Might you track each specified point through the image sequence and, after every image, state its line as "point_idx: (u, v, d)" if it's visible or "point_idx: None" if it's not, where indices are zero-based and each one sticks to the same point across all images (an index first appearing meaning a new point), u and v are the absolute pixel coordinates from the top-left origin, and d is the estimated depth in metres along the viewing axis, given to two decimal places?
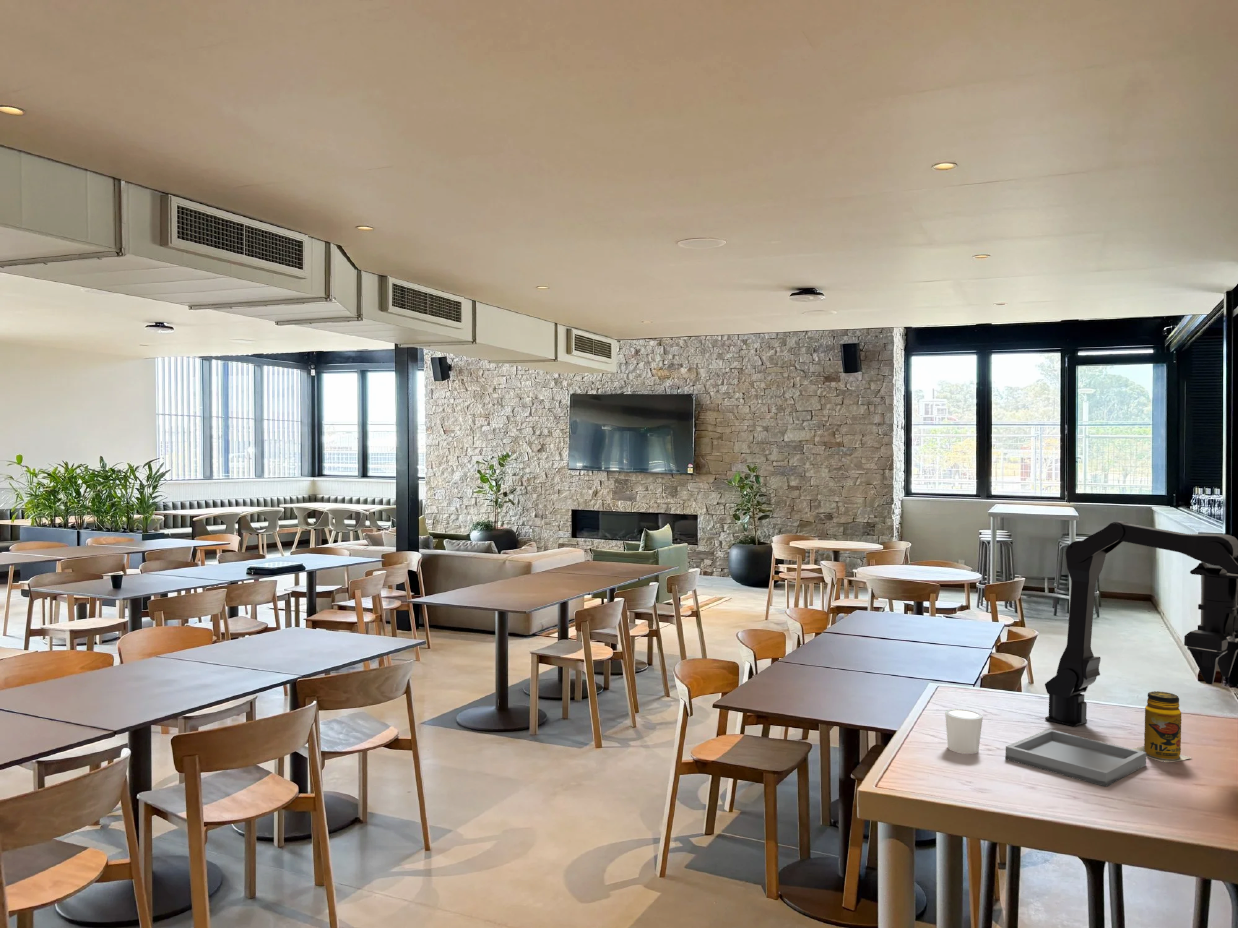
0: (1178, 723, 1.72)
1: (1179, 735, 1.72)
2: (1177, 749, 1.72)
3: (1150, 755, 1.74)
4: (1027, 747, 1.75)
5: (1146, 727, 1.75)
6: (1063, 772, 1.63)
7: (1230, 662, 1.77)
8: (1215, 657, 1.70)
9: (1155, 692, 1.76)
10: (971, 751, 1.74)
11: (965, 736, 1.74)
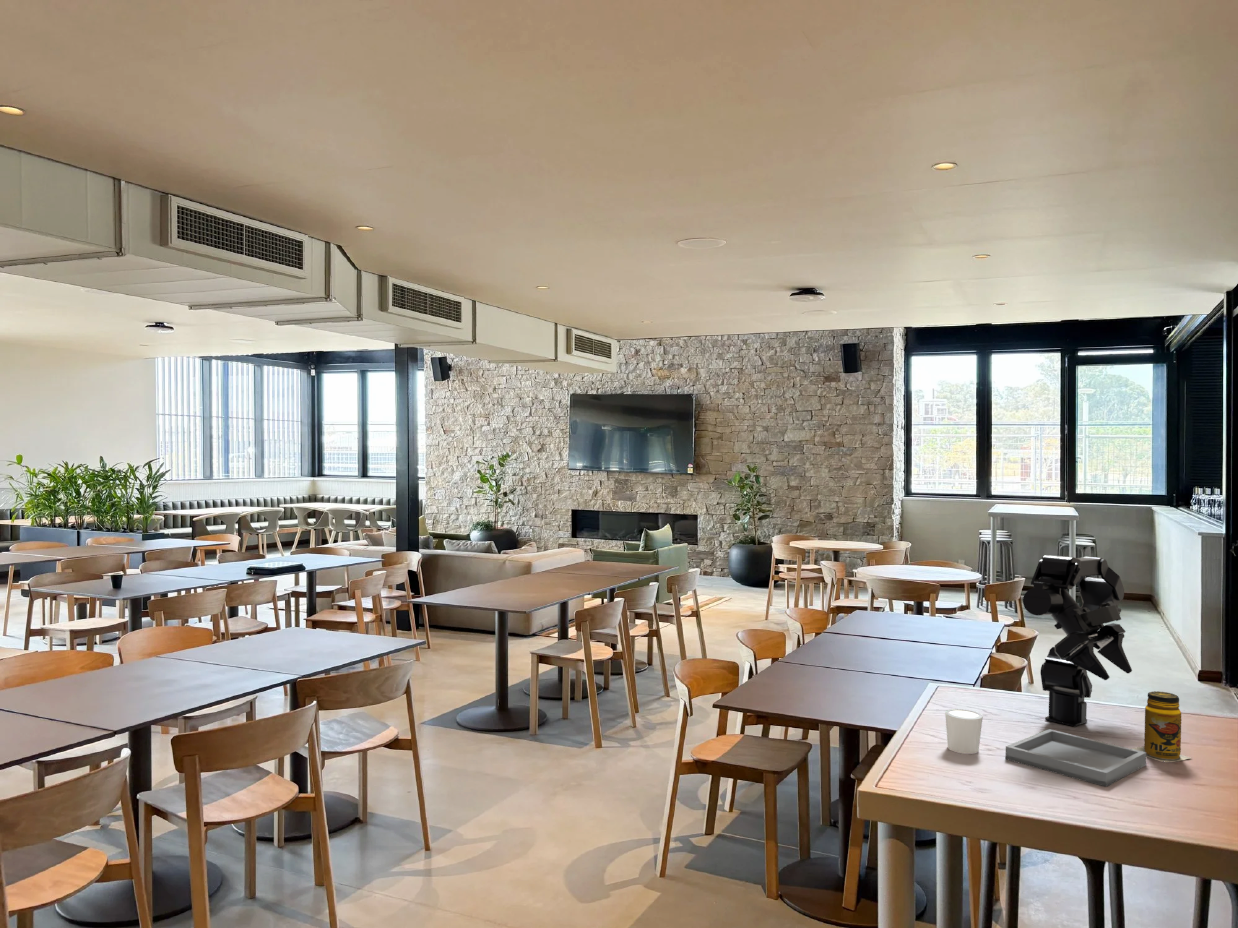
0: (1178, 723, 1.72)
1: (1179, 735, 1.72)
2: (1177, 749, 1.72)
3: (1150, 755, 1.74)
4: (1027, 747, 1.75)
5: (1146, 727, 1.75)
6: (1063, 772, 1.63)
7: (1122, 657, 1.86)
8: (1088, 652, 1.81)
9: (1155, 692, 1.76)
10: (971, 751, 1.74)
11: (965, 736, 1.74)
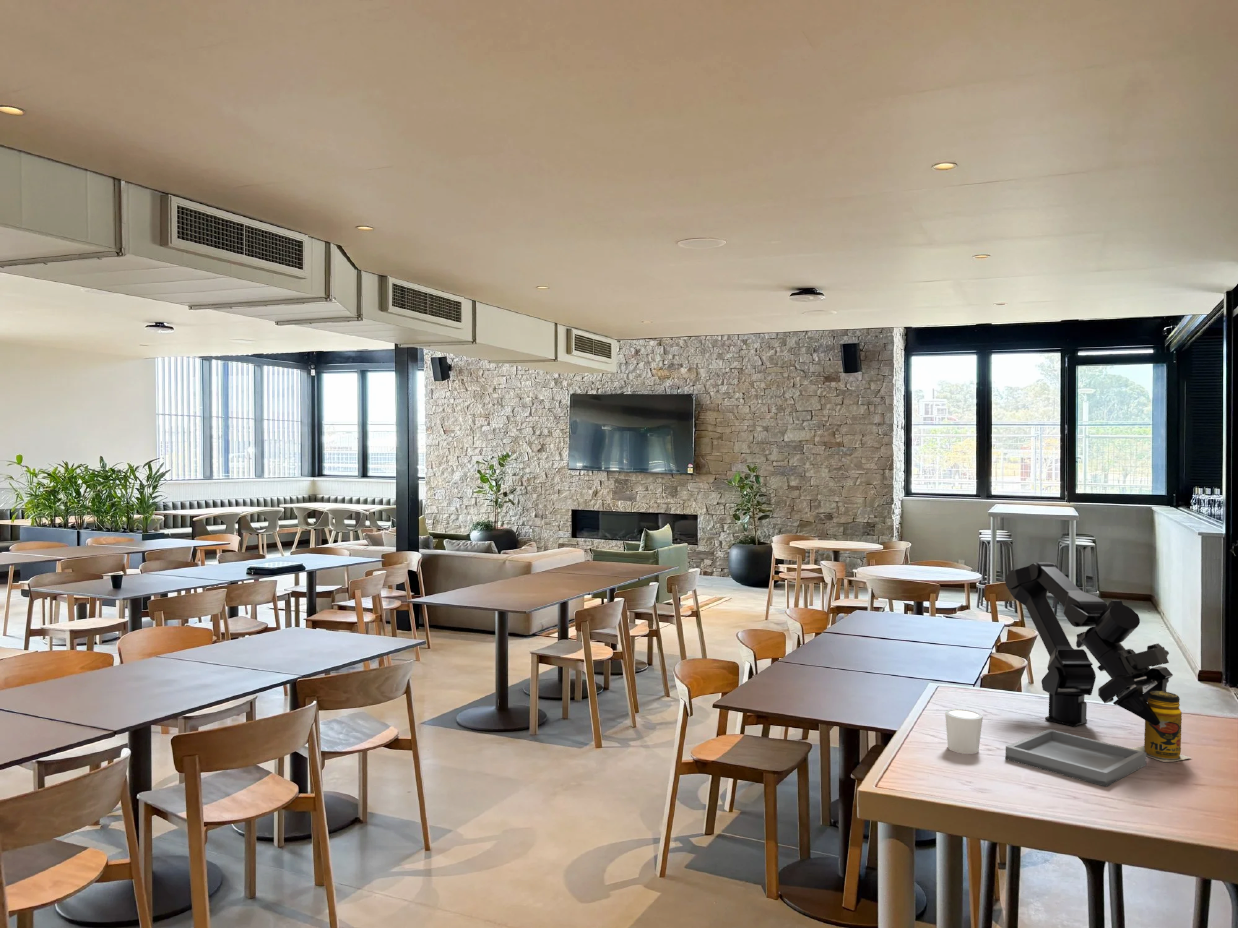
0: (1179, 723, 1.72)
1: (1179, 735, 1.72)
2: (1177, 749, 1.72)
3: (1150, 755, 1.74)
4: (1027, 747, 1.75)
5: (1146, 726, 1.75)
6: (1063, 772, 1.63)
7: None
8: (1137, 696, 1.74)
9: (1155, 692, 1.76)
10: (971, 751, 1.74)
11: (965, 736, 1.74)
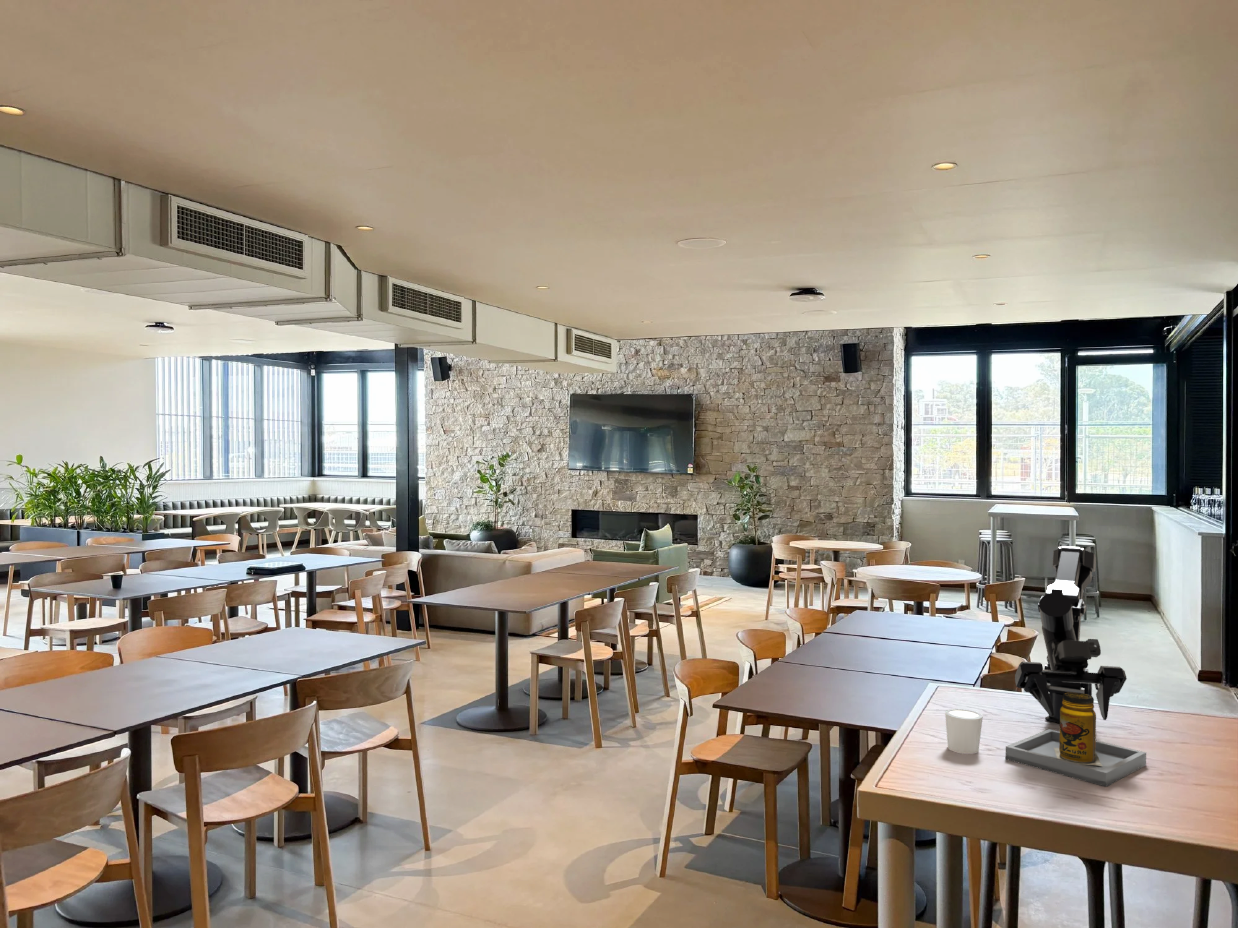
0: (1082, 725, 1.67)
1: (1083, 738, 1.67)
2: (1079, 752, 1.67)
3: (1059, 754, 1.71)
4: (1027, 747, 1.75)
5: None
6: (1063, 772, 1.63)
7: (1102, 702, 1.69)
8: (1037, 684, 1.73)
9: (1077, 693, 1.71)
10: (971, 751, 1.74)
11: (965, 736, 1.74)
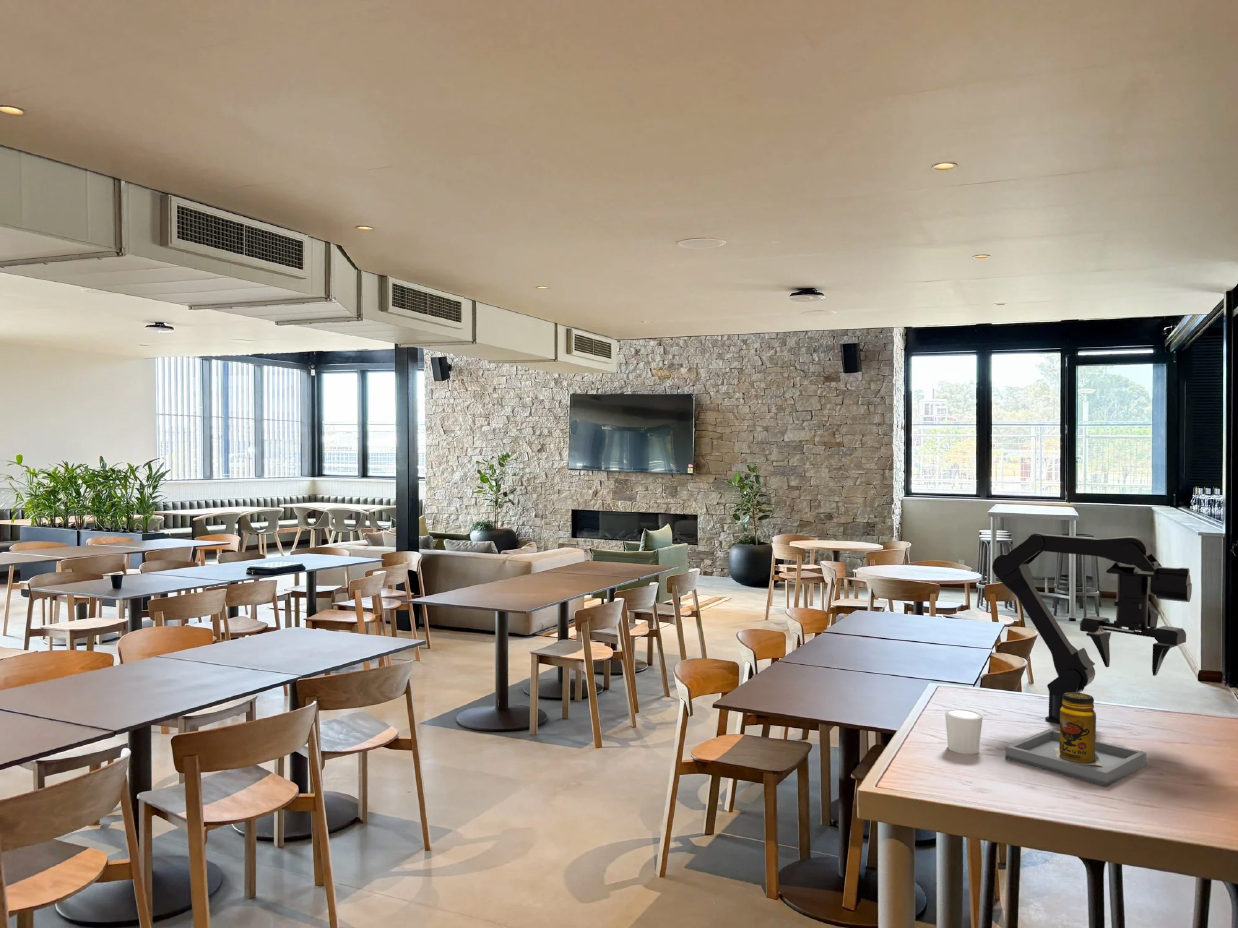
0: (1082, 725, 1.67)
1: (1083, 738, 1.67)
2: (1079, 752, 1.67)
3: (1059, 754, 1.71)
4: (1027, 747, 1.75)
5: None
6: (1063, 772, 1.63)
7: (1109, 652, 1.93)
8: (1168, 649, 1.85)
9: (1077, 693, 1.71)
10: (971, 751, 1.74)
11: (965, 736, 1.74)
